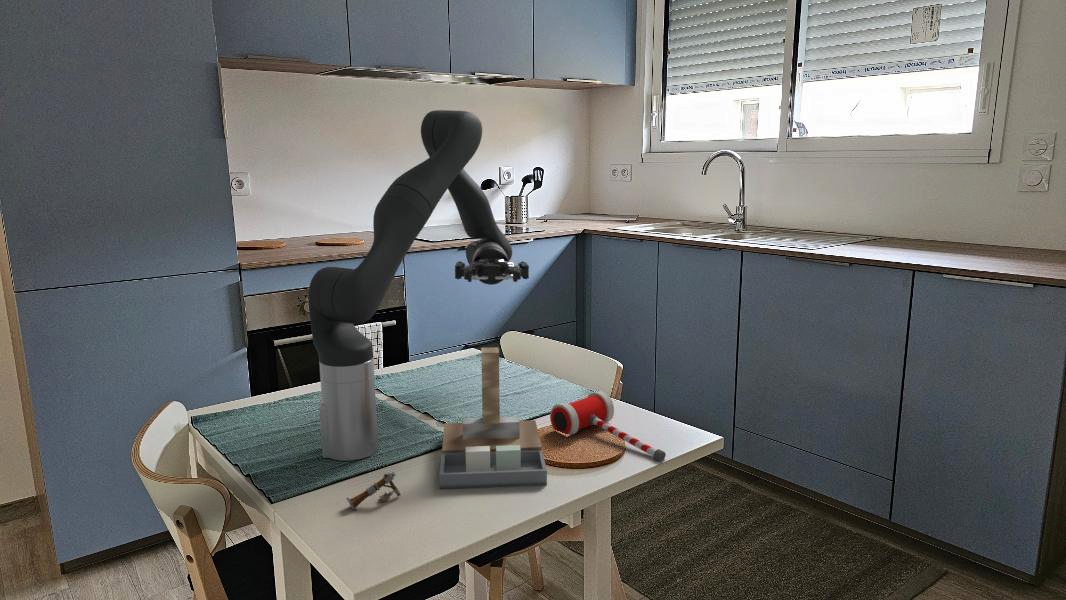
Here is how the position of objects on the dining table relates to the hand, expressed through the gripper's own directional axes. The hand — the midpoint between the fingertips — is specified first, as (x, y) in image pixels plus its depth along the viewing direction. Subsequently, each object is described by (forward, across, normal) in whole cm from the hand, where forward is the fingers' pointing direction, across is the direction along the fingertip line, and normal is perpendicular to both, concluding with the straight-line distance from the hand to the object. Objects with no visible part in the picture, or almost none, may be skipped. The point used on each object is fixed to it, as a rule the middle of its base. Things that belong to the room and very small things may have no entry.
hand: (492, 276), depth 133 cm
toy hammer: (+6, +21, +30) cm, 37 cm away
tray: (+20, 0, +30) cm, 36 cm away
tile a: (+18, -3, +28) cm, 33 cm away
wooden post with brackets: (+28, -19, +31) cm, 46 cm away
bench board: (+10, 0, +30) cm, 32 cm away
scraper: (+11, -1, +27) cm, 29 cm away
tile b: (+18, +2, +28) cm, 33 cm away
